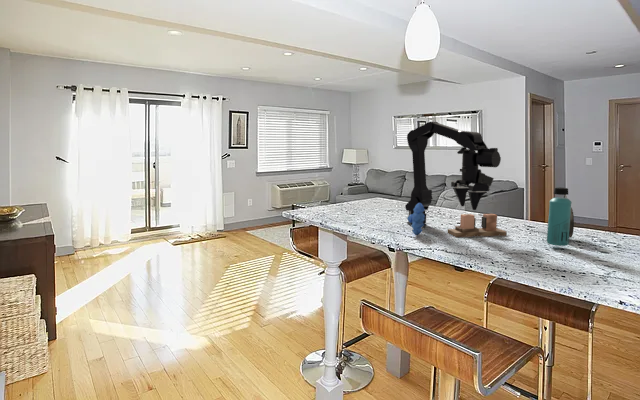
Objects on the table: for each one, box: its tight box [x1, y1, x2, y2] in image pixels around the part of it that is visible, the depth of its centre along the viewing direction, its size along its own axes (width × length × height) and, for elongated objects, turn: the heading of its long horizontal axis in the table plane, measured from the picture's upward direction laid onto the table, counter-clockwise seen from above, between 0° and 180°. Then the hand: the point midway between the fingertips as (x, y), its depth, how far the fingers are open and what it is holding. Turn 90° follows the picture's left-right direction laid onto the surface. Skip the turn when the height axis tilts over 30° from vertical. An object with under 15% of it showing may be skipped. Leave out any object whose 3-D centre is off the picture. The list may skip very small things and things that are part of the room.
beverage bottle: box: [546, 187, 572, 247], centre depth 135 cm, size 6×7×20 cm
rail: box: [447, 213, 508, 238], centre depth 157 cm, size 20×7×8 cm, turn 97°
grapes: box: [406, 203, 426, 236], centre depth 157 cm, size 12×7×12 cm, turn 155°
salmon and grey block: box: [459, 213, 477, 229], centre depth 156 cm, size 5×3×6 cm, turn 96°
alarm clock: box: [563, 195, 575, 238], centre depth 148 cm, size 11×5×16 cm, turn 158°
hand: (468, 208), depth 155 cm, fingers open, 9 cm apart
